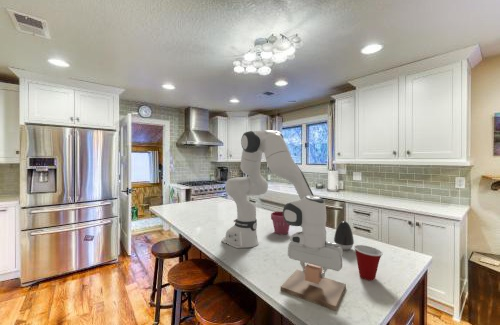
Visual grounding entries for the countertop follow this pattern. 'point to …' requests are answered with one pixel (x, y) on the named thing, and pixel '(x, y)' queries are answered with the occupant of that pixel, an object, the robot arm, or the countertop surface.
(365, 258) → the plastic cup
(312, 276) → the cube
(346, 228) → the black glossy tall piece
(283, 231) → the plant pot
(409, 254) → the countertop surface
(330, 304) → the walnut board
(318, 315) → the countertop surface
